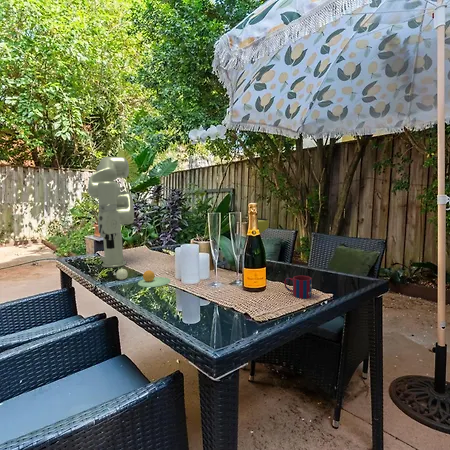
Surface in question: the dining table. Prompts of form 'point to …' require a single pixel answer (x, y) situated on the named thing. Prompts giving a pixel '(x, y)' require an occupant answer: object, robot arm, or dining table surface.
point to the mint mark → (154, 282)
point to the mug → (301, 286)
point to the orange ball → (148, 276)
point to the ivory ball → (121, 274)
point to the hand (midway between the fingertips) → (110, 248)
